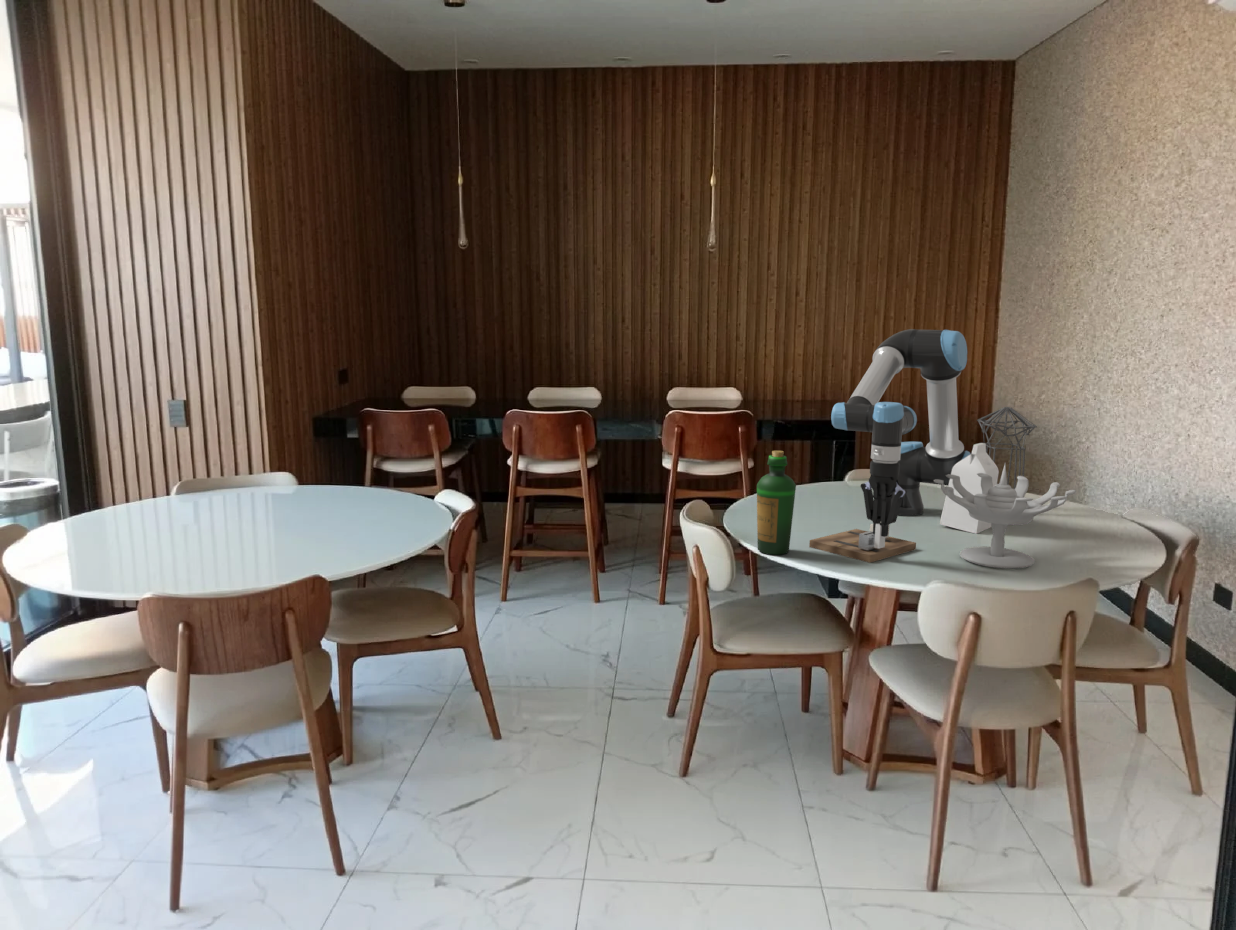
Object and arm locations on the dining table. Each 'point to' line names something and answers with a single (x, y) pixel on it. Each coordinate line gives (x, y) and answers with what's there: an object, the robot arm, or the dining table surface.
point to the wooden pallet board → (849, 546)
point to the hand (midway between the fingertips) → (879, 547)
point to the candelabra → (1001, 515)
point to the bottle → (775, 507)
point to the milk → (969, 489)
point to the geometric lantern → (1001, 412)
